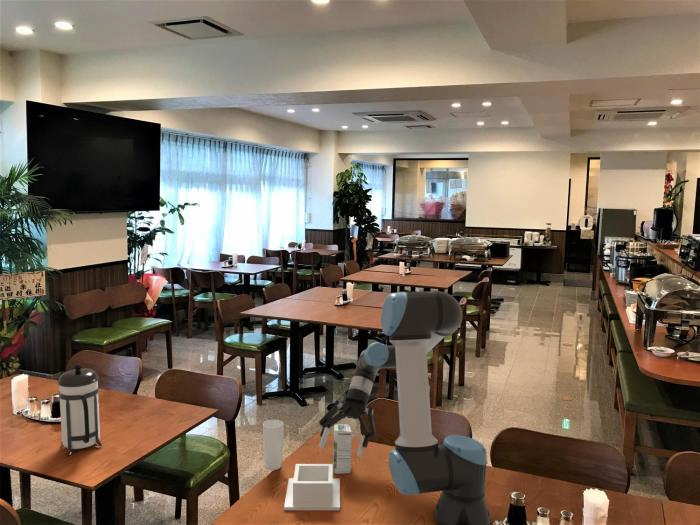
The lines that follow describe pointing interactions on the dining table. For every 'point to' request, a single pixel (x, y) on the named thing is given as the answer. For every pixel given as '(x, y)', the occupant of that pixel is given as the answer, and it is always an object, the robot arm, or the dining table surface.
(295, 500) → the holder
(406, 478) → the robot arm
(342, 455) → the syrup box
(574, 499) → the dining table surface
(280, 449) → the drinking glass
